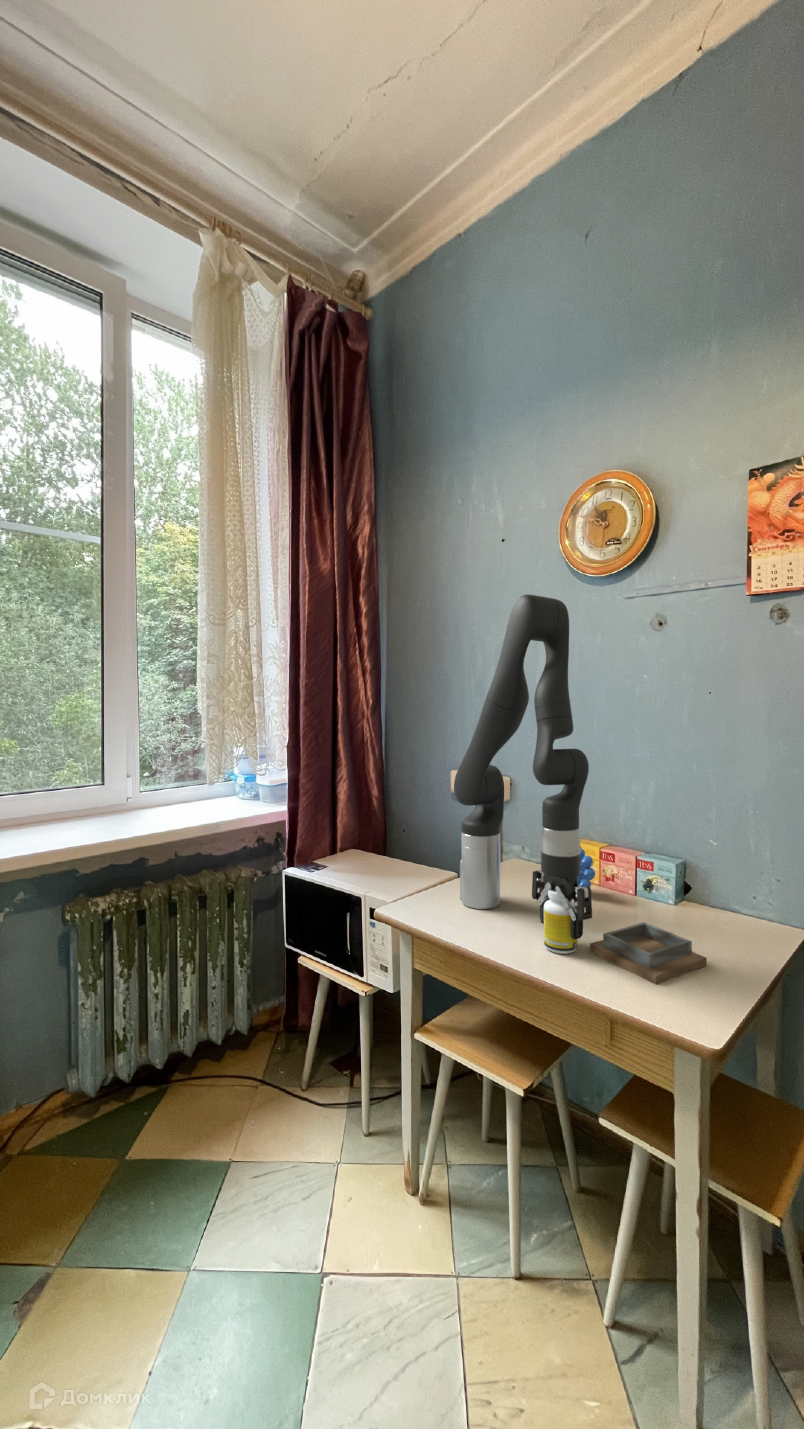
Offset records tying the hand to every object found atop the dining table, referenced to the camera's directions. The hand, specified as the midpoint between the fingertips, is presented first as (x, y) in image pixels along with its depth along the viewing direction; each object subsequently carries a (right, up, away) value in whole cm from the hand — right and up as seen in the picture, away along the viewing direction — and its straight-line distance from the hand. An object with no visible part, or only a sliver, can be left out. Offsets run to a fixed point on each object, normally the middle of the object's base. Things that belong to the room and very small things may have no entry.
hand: (560, 930), depth 117 cm
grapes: (+13, -2, +31) cm, 34 cm away
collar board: (+15, -4, -5) cm, 16 cm away
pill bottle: (0, -4, 0) cm, 4 cm away
